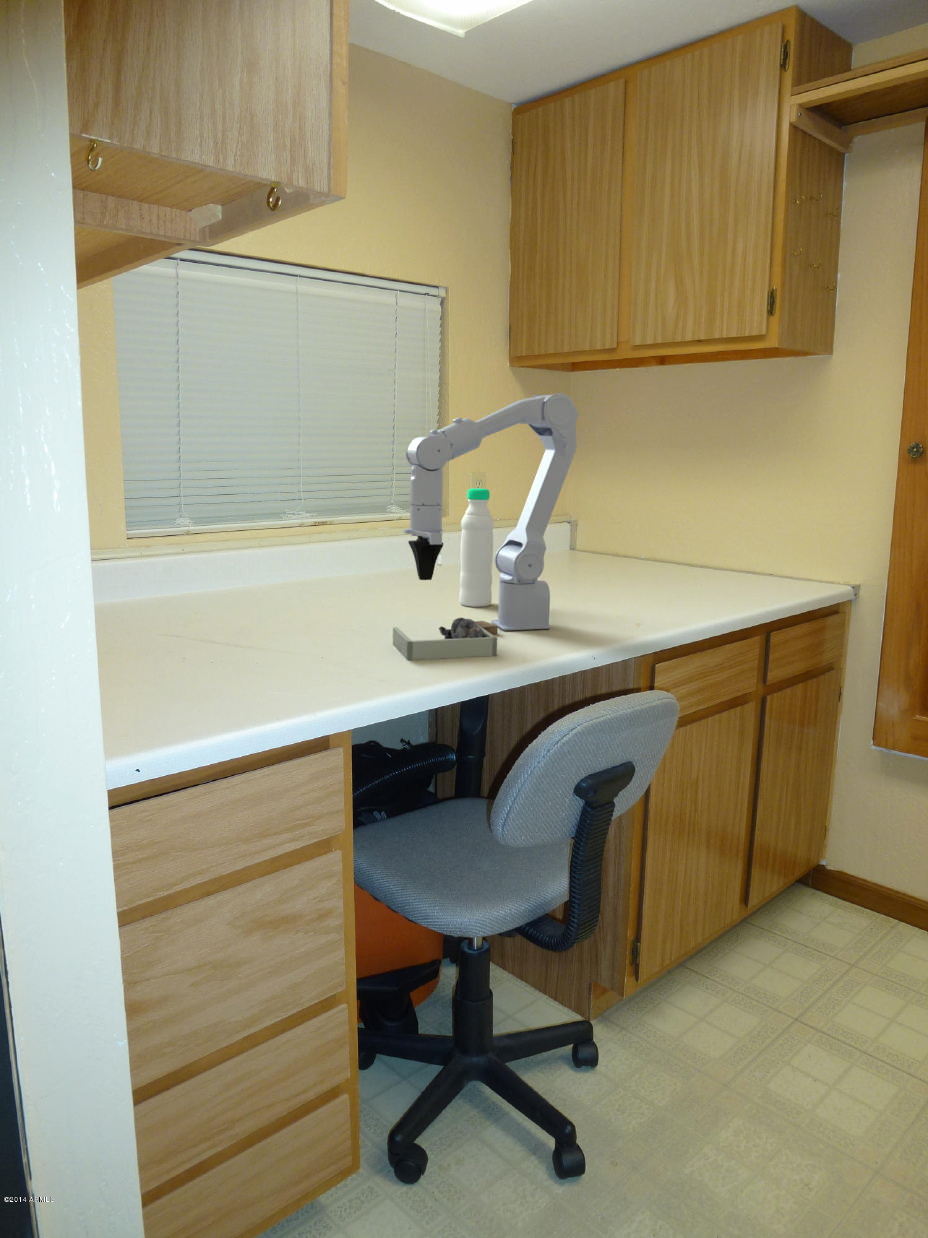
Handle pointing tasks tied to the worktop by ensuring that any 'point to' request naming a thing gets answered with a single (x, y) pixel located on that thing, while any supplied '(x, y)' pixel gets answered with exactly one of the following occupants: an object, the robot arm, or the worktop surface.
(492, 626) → the walnut tile
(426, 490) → the robot arm
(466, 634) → the seashell
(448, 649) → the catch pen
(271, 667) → the worktop surface
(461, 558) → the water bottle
